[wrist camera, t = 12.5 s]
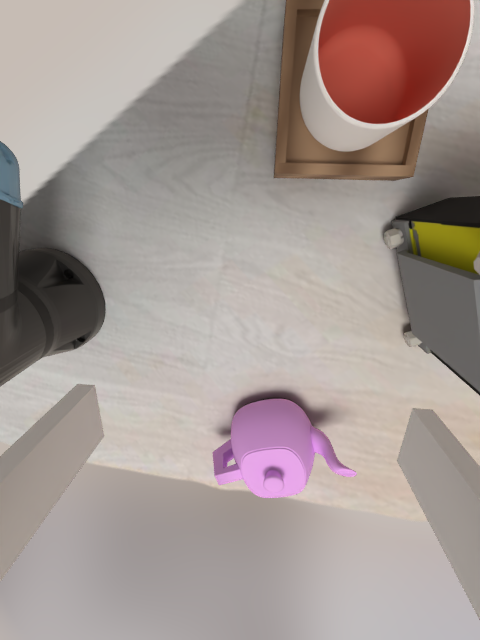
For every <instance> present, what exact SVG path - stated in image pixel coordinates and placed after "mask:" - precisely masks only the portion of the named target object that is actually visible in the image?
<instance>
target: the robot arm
mask: <svg viewBox="0 0 480 640" xmlns="http://www.w3.org/2000/svg"><path fill="white" fill-rule="evenodd" d="M21 208H23V202H22V201H21V198H20V178H19V164H18V161H17V159H16V157H15V155H14V154H13V152H12V151H11V150H10V149H9V148H8V147H7V146H6V145H5V144H3V143H2V142H1V141H0V386H2V385H3V384H4V383H6V382H7V381H9V380H10V379H12V378H13V377H15V376H16V375H17V374H19V373H20V372H22V371H23V370H25V369H26V368H28V367H29V366H31V365H32V364H33V363H35V362H36V361H38V360H39V359H41V358H42V357H46V356H50V355H55V354H59V353H63V352H67V351H71V350H74V349H77V348H79V347H81V346H82V345H84V344H85V343H87V342H88V341H89V340H91V339H92V338H93V337H94V336H95V335H96V334H97V333H98V332H99V330H100V328H101V327H102V324H103V321H104V316H105V303H104V298H103V295H102V292H101V289H100V287H99V285H98V283H97V281H96V280H95V278H94V277H93V275H92V274H91V273H90V272H89V271H88V269H87V268H86V267H85V266H83V265H82V264H81V263H80V262H79V261H77V260H76V259H75V258H73V257H71V256H70V255H68V254H66V253H63V252H61V251H58V250H54V249H49V248H35V249H30V250H24V251H20V252H19V238H20V215H21ZM103 437H104V432H103V427H102V422H101V416H100V411H99V406H98V400H97V395H96V390H95V385H83V384H77V385H76V386H75V387H74V388H73V389H72V390H71V391H70V392H69V393H68V394H66V395H65V396H64V397H63V398H62V399H61V400H60V401H59V402H58V403H57V404H56V405H55V406H54V407H53V408H51V409H50V410H49V411H48V412H47V413H46V414H45V415H44V416H43V417H42V418H41V419H40V420H39V421H38V422H36V423H35V424H34V425H33V426H32V427H31V428H30V429H29V430H28V431H27V432H26V433H25V434H24V435H23V436H21V437H20V438H19V439H18V440H17V441H16V442H15V443H14V444H13V445H12V446H11V447H10V448H9V449H8V450H6V451H5V452H4V454H2V455H1V456H0V582H1V580H2V579H3V577H4V576H5V574H6V573H7V572H8V570H9V569H10V567H11V566H12V565H13V563H14V562H15V561H16V559H17V558H18V556H19V555H20V553H21V552H22V551H23V549H24V548H25V546H26V545H27V544H28V542H29V541H30V539H31V538H32V537H33V535H34V534H35V532H36V531H37V530H38V528H39V527H40V525H41V524H42V522H43V521H44V520H45V518H46V517H47V516H48V514H49V513H50V511H51V510H52V508H53V507H54V506H55V504H56V503H57V501H58V500H59V499H60V497H61V496H62V494H63V493H64V492H65V490H66V489H67V487H68V486H69V484H70V483H71V482H72V480H73V479H74V478H75V476H76V474H77V473H78V472H79V470H80V469H81V467H82V466H83V465H84V463H85V462H86V461H87V459H88V458H89V456H90V455H91V454H92V452H93V451H94V449H95V448H96V447H97V445H98V444H99V442H100V441H101V440H102V438H103ZM397 462H398V464H399V465H400V467H401V469H402V471H403V473H404V475H405V477H406V479H407V481H408V483H409V485H410V487H411V489H412V491H413V492H414V494H415V496H416V498H417V500H418V502H419V504H420V506H421V508H422V510H423V512H424V514H425V516H426V517H427V519H428V521H429V523H430V525H431V527H432V529H433V531H434V533H435V535H436V537H437V539H438V541H439V543H440V544H441V546H442V548H443V550H444V552H445V554H446V556H447V558H448V560H449V562H450V564H451V566H452V568H453V569H454V571H455V573H456V575H457V577H458V579H459V581H460V583H461V585H462V587H463V589H464V591H465V592H466V595H467V596H468V598H469V600H470V602H471V604H472V606H473V608H474V610H475V612H476V614H477V616H478V617H479V620H480V466H479V465H478V464H477V463H476V462H475V460H474V459H473V458H472V457H471V456H470V454H469V453H468V452H467V451H466V450H465V448H464V447H463V446H462V445H461V443H460V442H459V441H458V440H457V439H456V437H455V436H454V435H453V434H452V433H451V431H450V430H449V429H448V428H447V427H446V425H445V424H444V423H443V422H442V420H441V419H440V418H439V417H438V416H437V414H436V413H435V412H434V411H433V410H428V409H415V408H413V409H412V412H411V415H410V419H409V422H408V425H407V429H406V432H405V435H404V439H403V442H402V446H401V449H400V452H399V456H398V459H397Z"/></svg>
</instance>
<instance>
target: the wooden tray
mask: <svg viewBox="0 0 480 640" xmlns="http://www.w3.org/2000/svg"><path fill="white" fill-rule="evenodd" d="M324 1H325V0H286V8H285V19H284V31H283V47H282V62H281V77H280V93H279V108H278V123H277V139H276V154H275V169H274V178H308V179H350V180H391V181H395V180H400V179H405V178H409V177H413V175H414V171H415V167H416V162H417V158H418V153H419V149H420V144H421V140H422V135H423V131H424V126H425V122H426V117H427V113H428V109H427V110H426V111H425V112H424V113H422V114H421V115H419V116H418V117H416V118H415V119H413V120H411V121H410V122H408V123H406V124H405V125H403V126H401V127H400V128H398V129H397V130H395V131H393V132H392V133H390V134H388V135H387V136H385V137H383V138H382V139H380V140H379V141H377V142H375V143H374V144H372V145H370V146H368V147H366V148H363V149H360V150H356V151H348V152H345V151H337V150H333V149H330V148H328V147H326V146H324V145H322V144H321V143H319V142H318V141H317V140H316V139H315V138H314V137H313V136H312V134H311V133H310V132H309V130H308V129H307V127H306V125H305V122H304V120H303V117H302V113H301V107H300V85H301V80H302V76H303V72H304V68H305V64H306V61H307V57H308V53H309V50H310V46H311V42H312V39H313V35H314V31H315V28H316V24H317V20H318V17H319V14H320V11H321V8H322V5H323V3H324Z"/></svg>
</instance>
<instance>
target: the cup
mask: <svg viewBox="0 0 480 640" xmlns="http://www.w3.org/2000/svg"><path fill="white" fill-rule="evenodd" d="M473 23H474V0H325V1H324V3H323V5H322V8H321V11H320V14H319V17H318V20H317V24H316V28H315V31H314V35H313V39H312V42H311V46H310V50H309V53H308V57H307V61H306V64H305V68H304V72H303V76H302V80H301V85H300V107H301V113H302V117H303V120H304V122H305V125H306V127H307V129H308V130H309V132H310V133H311V134H312V136H313V137H314V138H315V139H316V140H317V141H318V142H319V143H321V144H322V145H324V146H326V147H328V148H330V149H333V150H337V151H345V152H348V151H356V150H360V149H363V148H366V147H368V146H370V145H372V144H374V143H375V142H377V141H379V140H380V139H382V138H383V137H385V136H387V135H388V134H390V133H392V132H393V131H395V130H397V129H398V128H400V127H401V126H403V125H405V124H406V123H408V122H410V121H411V120H413V119H415V118H416V117H418V116H419V115H421V114H422V113H424V112H425V111H426V110H427V109H429V108H430V107H431V106H432V105H433V104H434V103H435V102H436V101H437V100H438V99H439V98H440V97H441V96H442V95H443V93H444V92H445V91H446V90H447V88H448V87H449V86H450V84H451V83H452V81H453V80H454V78H455V76H456V74H457V73H458V71H459V69H460V67H461V65H462V63H463V60H464V58H465V56H466V53H467V50H468V47H469V44H470V40H471V35H472V30H473Z"/></svg>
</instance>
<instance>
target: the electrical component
mask: <svg viewBox="0 0 480 640" xmlns="http://www.w3.org/2000/svg"><path fill="white" fill-rule="evenodd" d="M391 222H392V227H393V229H391V230H388V231H386V232H385V234H384V241H385V244H386V245H387V247H388V248H389V249H393V248H397V257H398V262H399V267H400V272H401V278H402V283H403V288H404V293H405V298H406V304H407V309H408V314H409V319H410V324H411V330H412V331H409V332H406V333H404V340H405V342H406V343H407V345H408V346H409V347H412V346H416V345H418V346H419V347H420V348H422V349H423V350H424V351H425V352H426V353H427V354H428V353H432V354H433V355H434V356H435V357H437V358H438V359H439V360H440V361H441V362H442V363H443V364H445V365H446V366H447V367H448V368H449V369H450V370H451V371H453V372H454V373H455V374H456V375H457V376H458V377H459V378H461V379H462V380H463V381H464V382H465V383H466V384H467V385H469V386H470V387H471V388H472V389H473V390H474V391H475V392H476V393H478V394H479V395H480V196H475V197H457V198H448V199H445V200H443V201H440V202H437V203H434V204H431V205H429V206H426V207H423V208H420V209H417V210H415V211H412V212H409V213H406V214H404V215H401V216H398V217H396V220H394V221H391Z"/></svg>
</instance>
